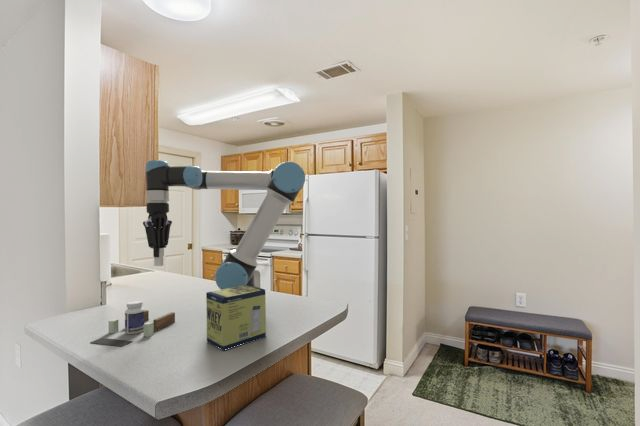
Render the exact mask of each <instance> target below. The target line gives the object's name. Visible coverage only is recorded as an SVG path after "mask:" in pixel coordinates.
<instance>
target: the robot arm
mask: <svg viewBox="0 0 640 426" xmlns="http://www.w3.org/2000/svg"><path fill="white" fill-rule="evenodd" d="M305 181H306V173H305V171H304V169H303V168H302V167H301V166H300V164H298V163H297V162H294V161H284V162H281V163H279V164H278V165H277V166H276V167H275V168H274V169H271V170H269V171H231V170H230V171H227V170H226V171H225V170H224V171H223V170H221V171H220V170H202V169H201V167H199V166H195V165H194V166H193V165H183V166H181V165H180V166H176V165H175V166H169V162H168V161H165V160H162V159H161V160H159V159H158V160H156V159H153V160H148V161H147V162H146V165H145V185H146V187H145V188H146V191H145V192H146V202H147V203H146V205H145V206H146V213H147V214H148V217H147V220H145V221H142V225H143V227H144V231H145V234H146V240H147V243H148V244H147V245H148V248H150V249H153V251H152V253H153V254H152V255H153V259H154V260H153V261H154V262H153V266H154V267H162V266H164V256H165V252H164V251H165V249H164V248H167V246H168V245H169V238H170V232H171V226H172V224H173V221H172V220H169V219H168V213H169V212H170V204H169V203H168V202H169V201H170V191H169V187H185V188H190V189H192V190H198V191H200V190H236V191H237V190H239V191H240V190H241V191H243V190H247V191H251V190H252V191H253V190H254V191H255V190H256V191H266V193H267V194H266V196H265V197H264V199H263V201H262V202H261V204H260V205H259V208H258V209H257V211H256V213H255V215H254V217H253V218H252V219H251V221H250V223H249V225H248V227H247V228H246V230H245V232H244V233H243V236H242V237H241V239H240V240H239V242H238V245H237V246H236V248H234V249H230V251H229V252H228V253H227V254H226V255H225V258H224V260H223V262H222V264H220V265H219V266H218V268H217V269H216V272H215V274H214V281H215V283H216V286H217V287H218V289H219V290H223V289H228V288H233V287H238V286H243V285H250V286H254V287H255V270H256V268H257V267H258V263H257V262H258V261H257V258H258V257H259V255H260V253H261V252H262V250H263V249H264V246H265V244H266V242H267V241H268V239H269V237H270V235H271V234H272V232H273V231H274V229H275V227H276V226H277V223H278V221H279V220H280V219H281V216H282V215H283V214H284V211H285V209H287V206H288V205H292V204H293V203H294V202H295V200H296V198H297V197H298V194H299V193H300V192H301V190H302V189H303V187H304V185H305Z"/></svg>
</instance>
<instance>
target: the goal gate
mask: <svg viewBox="0 0 640 426" xmlns="http://www.w3.org/2000/svg"><path fill="white" fill-rule="evenodd" d="M118 332H119V319H117V318H116V319H115V318H113V319H110V320H108V334H115V333H118ZM153 335H154V330H153V321H147V322H144V331H143V337H146V338H149V337H151V336H153Z"/></svg>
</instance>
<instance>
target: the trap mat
mask: <svg viewBox="0 0 640 426" xmlns="http://www.w3.org/2000/svg"><path fill="white" fill-rule="evenodd" d="M89 343H90V344H93V345H96V344H97V345H103V346H110V347H111V346H112V347H120V348H121V347H124V346H126V345H128V344H130V343H133V340H127V339H126V340H125V339H119V338H118V339H116V338H107V337H99V338H98V339H95V340H93V341H90V342H89Z"/></svg>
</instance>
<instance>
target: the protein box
mask: <svg viewBox="0 0 640 426" xmlns="http://www.w3.org/2000/svg"><path fill="white" fill-rule="evenodd" d="M205 295H206V298H205V299H206V300H205V301H206V342H207V341H208V342H207V343H209V342H210V343H211V344H210V343H209V344H210V345H212V344H213V345H212V346H214V345H215V346H217V347H219V348H221V349H222V350H225V349H228V348H231V347H234V346H237V345H240V344H243V343H246V342H249V343H251V342H250V341H252V342H254V341H253V340H255V341H257V340H256V339H258V340H261V339H264V338H266V337H267V333H266V332H267V331H266V330H267V329H266V327H267V324H266V323H267V322H266V317H267V316H266V313H267V312H266V311H267V310H266V289H264V288H261V287H257V286H255V285H254V286H250V285H243V286H238V287H233V288H228V289H223V290H221V289H218V290H212V291H208V292H206V293H205ZM263 337H264V338H263ZM260 338H261V339H260ZM246 344H247V343H246ZM243 345H244V344H243ZM215 346H214V347H215ZM240 346H241V345H240ZM217 347H216V348H217ZM237 347H238V346H237ZM219 348H218V349H219ZM234 348H235V347H234ZM221 349H220V350H221ZM231 349H232V348H231ZM222 350H221V351H222ZM228 350H229V349H228ZM225 351H226V350H225Z"/></svg>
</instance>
